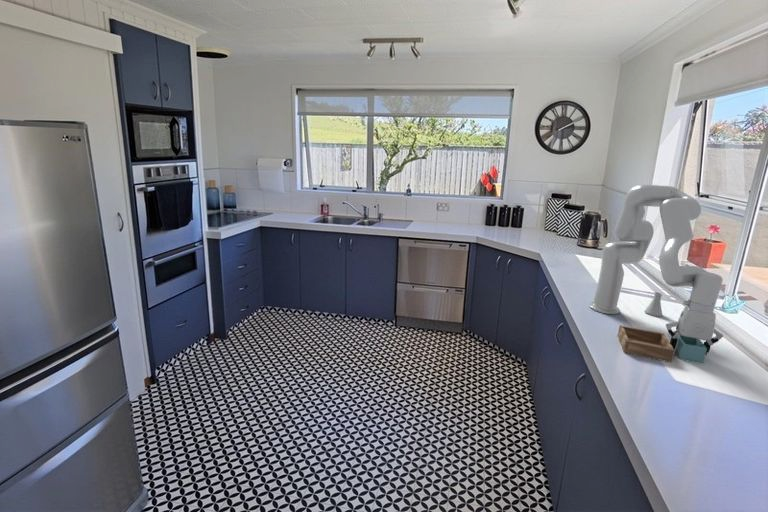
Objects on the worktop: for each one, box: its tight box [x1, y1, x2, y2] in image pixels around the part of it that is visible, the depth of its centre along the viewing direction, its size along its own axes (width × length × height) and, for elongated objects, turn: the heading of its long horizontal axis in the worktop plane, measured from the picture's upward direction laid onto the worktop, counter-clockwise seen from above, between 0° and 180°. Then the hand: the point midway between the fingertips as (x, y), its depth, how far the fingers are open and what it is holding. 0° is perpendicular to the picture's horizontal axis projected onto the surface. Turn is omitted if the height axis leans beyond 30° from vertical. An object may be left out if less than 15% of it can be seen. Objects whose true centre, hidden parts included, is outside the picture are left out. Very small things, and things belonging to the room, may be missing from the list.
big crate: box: [616, 325, 675, 363], centre depth 155 cm, size 15×15×4 cm
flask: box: [644, 291, 663, 318], centre depth 189 cm, size 7×7×10 cm
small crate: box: [674, 336, 707, 364], centre depth 152 cm, size 10×7×6 cm
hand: (688, 350), depth 152 cm, fingers open, 9 cm apart
